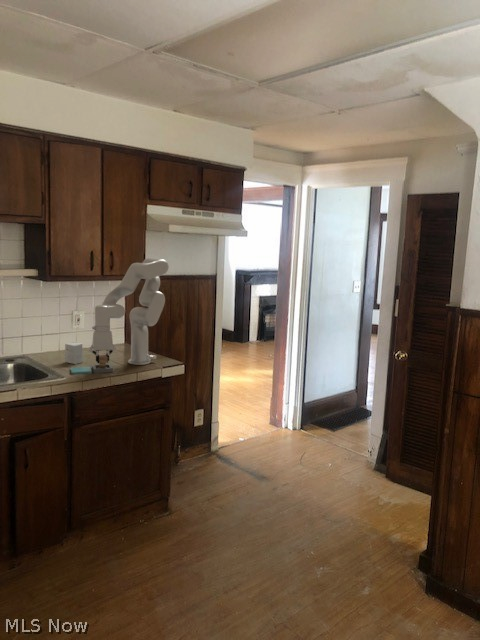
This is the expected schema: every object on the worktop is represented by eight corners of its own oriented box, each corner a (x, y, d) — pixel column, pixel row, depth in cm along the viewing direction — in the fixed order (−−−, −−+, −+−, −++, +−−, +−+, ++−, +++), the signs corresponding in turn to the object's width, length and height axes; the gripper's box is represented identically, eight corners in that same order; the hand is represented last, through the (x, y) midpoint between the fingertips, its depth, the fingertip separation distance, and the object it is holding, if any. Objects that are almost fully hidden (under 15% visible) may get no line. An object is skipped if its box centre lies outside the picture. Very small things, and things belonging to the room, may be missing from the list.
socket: (110, 367, 288) (110, 363, 288) (113, 371, 279) (113, 368, 279) (91, 368, 285) (91, 364, 284) (93, 373, 275) (93, 369, 275)
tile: (89, 368, 284) (89, 366, 284) (91, 373, 275) (91, 371, 275) (70, 369, 281) (70, 367, 280) (71, 374, 271) (71, 372, 271)
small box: (83, 362, 296) (82, 344, 295) (75, 364, 292) (75, 345, 290) (72, 360, 300) (72, 342, 299) (65, 362, 296) (64, 343, 294)
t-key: (108, 372, 279) (108, 357, 277) (98, 372, 277) (98, 357, 276) (106, 367, 287) (106, 353, 286) (96, 368, 285) (96, 353, 284)
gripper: (86, 330, 272) (86, 365, 275) (119, 329, 278) (119, 363, 281) (85, 327, 279) (85, 361, 282) (117, 326, 285) (117, 360, 288)
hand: (102, 362), depth 281 cm, fingers closed on t-key, 4 cm apart
